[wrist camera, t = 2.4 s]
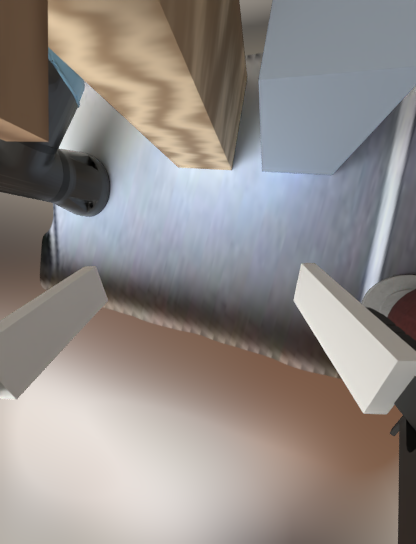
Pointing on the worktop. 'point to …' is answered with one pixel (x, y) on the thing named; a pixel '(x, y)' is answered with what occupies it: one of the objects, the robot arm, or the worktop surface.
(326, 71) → the slate base
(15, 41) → the walnut bar
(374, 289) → the mate gourd
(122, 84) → the oak stand
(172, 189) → the worktop surface
